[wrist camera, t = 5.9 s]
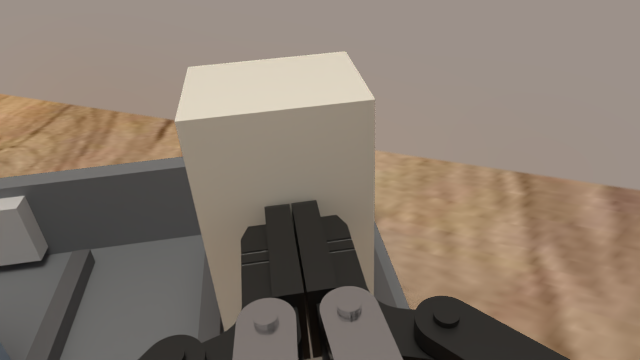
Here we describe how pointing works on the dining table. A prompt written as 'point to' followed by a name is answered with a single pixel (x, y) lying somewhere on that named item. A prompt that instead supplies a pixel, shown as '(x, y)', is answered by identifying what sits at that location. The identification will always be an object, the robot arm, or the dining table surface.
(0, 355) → the slate blue key
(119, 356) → the tray
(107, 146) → the dining table surface
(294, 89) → the ivory key
